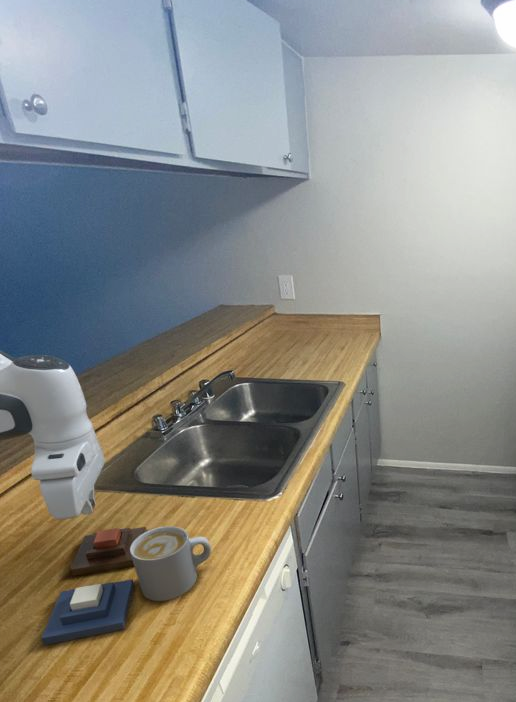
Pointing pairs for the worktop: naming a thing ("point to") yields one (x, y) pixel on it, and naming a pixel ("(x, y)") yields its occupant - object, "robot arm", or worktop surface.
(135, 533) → the brown stepped button base
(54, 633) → the blue stepped button base
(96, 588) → the white square button cap
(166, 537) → the coffee mug
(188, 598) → the worktop surface
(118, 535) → the red square button
